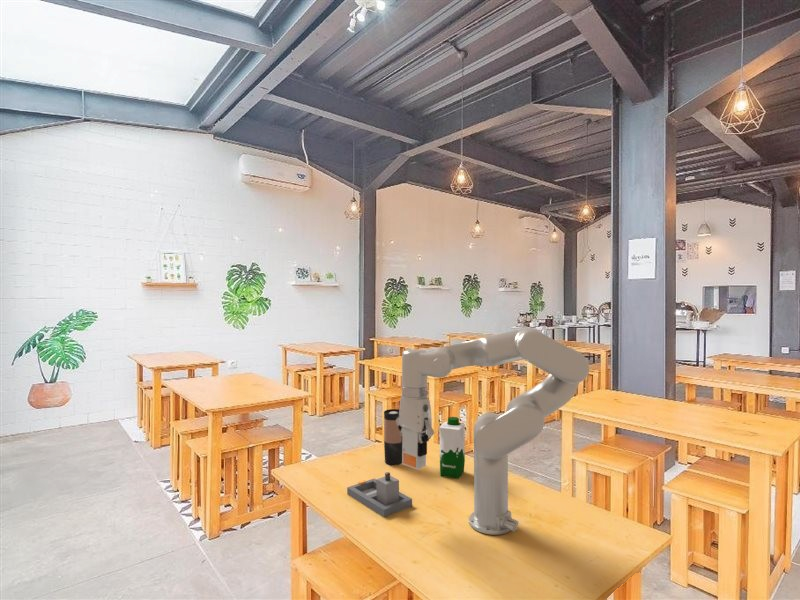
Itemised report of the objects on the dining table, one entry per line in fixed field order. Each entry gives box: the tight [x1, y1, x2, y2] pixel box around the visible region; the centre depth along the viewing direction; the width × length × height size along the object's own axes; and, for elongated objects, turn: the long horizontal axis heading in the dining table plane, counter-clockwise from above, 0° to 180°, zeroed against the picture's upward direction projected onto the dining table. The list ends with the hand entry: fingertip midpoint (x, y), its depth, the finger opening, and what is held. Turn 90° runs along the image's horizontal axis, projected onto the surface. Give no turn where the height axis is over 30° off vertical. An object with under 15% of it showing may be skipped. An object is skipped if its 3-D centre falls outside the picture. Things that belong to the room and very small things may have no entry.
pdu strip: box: [346, 478, 413, 518], centre depth 144 cm, size 20×11×3 cm, turn 39°
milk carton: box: [438, 416, 466, 480], centre depth 165 cm, size 9×9×20 cm
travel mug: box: [383, 408, 403, 466], centre depth 177 cm, size 8×8×20 cm
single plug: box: [375, 472, 400, 506], centre depth 140 cm, size 5×5×10 cm
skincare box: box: [401, 425, 427, 471], centre depth 133 cm, size 6×4×12 cm
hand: (414, 451), depth 133 cm, fingers closed on skincare box, 6 cm apart
